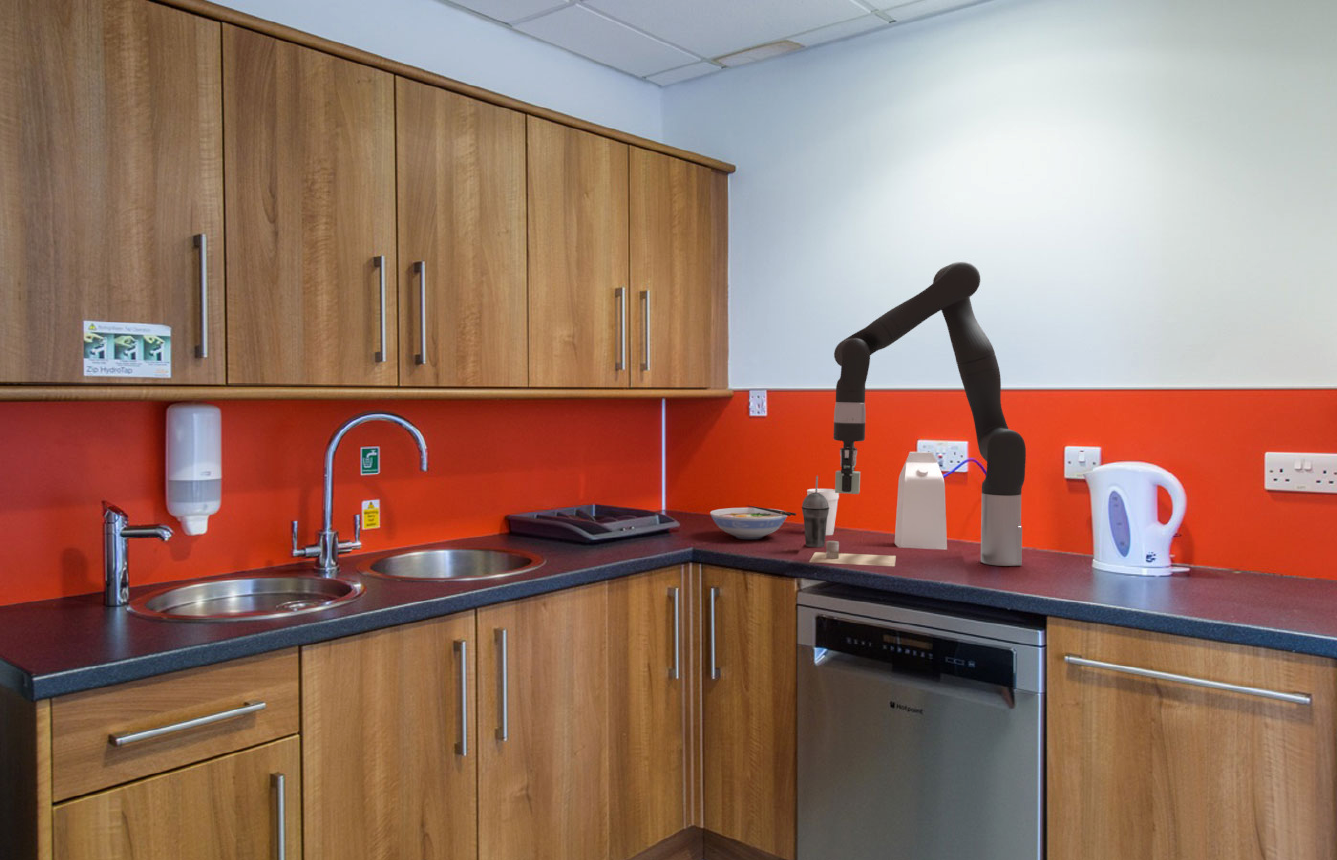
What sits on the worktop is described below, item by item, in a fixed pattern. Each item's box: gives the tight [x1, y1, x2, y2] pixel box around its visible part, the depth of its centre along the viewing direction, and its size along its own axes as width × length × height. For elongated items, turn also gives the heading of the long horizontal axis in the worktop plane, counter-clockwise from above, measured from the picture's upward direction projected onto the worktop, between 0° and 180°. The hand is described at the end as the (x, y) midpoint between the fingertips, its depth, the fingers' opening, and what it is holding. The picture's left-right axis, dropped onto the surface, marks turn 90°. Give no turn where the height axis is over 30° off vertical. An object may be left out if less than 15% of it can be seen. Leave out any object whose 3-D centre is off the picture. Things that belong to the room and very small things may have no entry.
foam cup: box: [806, 488, 840, 536], centre depth 271 cm, size 10×9×13 cm
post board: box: [808, 540, 897, 567], centre depth 222 cm, size 20×14×6 cm
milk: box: [894, 451, 948, 550], centre depth 247 cm, size 12×12×26 cm
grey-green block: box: [834, 470, 861, 495], centre depth 221 cm, size 6×6×5 cm
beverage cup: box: [801, 475, 829, 548], centre depth 241 cm, size 7×7×20 cm
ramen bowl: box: [709, 504, 797, 540], centre depth 264 cm, size 25×23×8 cm
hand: (847, 490), depth 221 cm, fingers closed on grey-green block, 5 cm apart
